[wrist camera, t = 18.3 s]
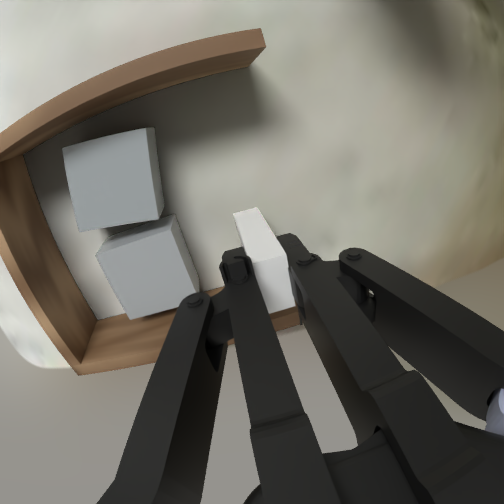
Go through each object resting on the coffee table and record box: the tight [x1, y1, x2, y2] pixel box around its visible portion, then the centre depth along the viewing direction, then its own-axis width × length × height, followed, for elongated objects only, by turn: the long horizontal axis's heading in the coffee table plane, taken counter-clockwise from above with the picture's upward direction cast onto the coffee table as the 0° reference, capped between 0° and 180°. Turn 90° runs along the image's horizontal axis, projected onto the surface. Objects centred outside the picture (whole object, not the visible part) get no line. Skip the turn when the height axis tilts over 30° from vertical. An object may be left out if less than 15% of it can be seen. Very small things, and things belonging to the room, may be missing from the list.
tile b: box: [95, 214, 199, 320], centre depth 18 cm, size 5×5×3 cm
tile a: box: [62, 127, 165, 232], centre depth 15 cm, size 5×5×3 cm
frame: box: [0, 28, 303, 375], centre depth 15 cm, size 16×17×5 cm
